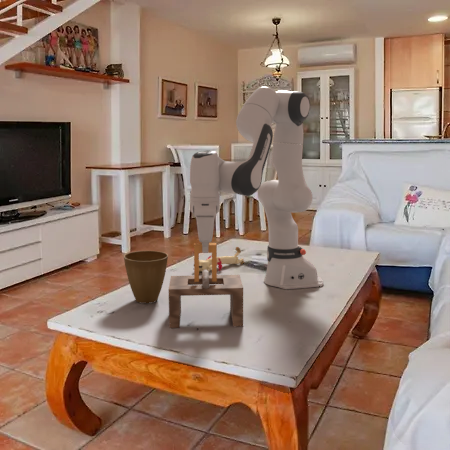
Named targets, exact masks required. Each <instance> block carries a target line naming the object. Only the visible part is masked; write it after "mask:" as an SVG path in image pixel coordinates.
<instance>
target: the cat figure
mask: <svg viewBox="0 0 450 450" xmlns="http://www.w3.org/2000/svg"><path fill="white" fill-rule="evenodd" d="M235 251H236V253H235V254H234V255H231V256H229V255H225V256H224V255H223V256H217V268H218V271H221V270H222V268H223V265H239V264H240V265H244V264H245V261H244V259H245V258H243V257H240V259H239V255H240V254H241V252H242V250H241V248H240V247H239V246H236V247H235ZM243 263H244V264H243ZM204 269H206V270H208V273H210V271H212V254H211V255H210V256H209V257H207V258H206V260H204V259H199V273H201V272H202V271H203V270H204Z"/></svg>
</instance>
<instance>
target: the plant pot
mask: <svg viewBox="0 0 450 450" xmlns="http://www.w3.org/2000/svg"><path fill="white" fill-rule="evenodd" d="M168 259H169V254H168V253H166V252H163V251H158V250H136V251H131V252H127V253H125V254H124V255H123V261H124V266H125V267H124V268H125V272H126V276H127V280H128V284H129V286H130V289H131V292H132V295H133V297H134V299H135V301H136V302H137V303H139V304H152V303H153V304H154V303H155V302H157V301H158V299H159V296H160V293H161V291H162V287H163V285H164V284H163V283H164V281H165V276H166V271H167V265H168Z"/></svg>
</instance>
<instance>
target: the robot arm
mask: <svg viewBox="0 0 450 450" xmlns="http://www.w3.org/2000/svg"><path fill="white" fill-rule="evenodd" d="M310 111H311V102H310V98H309V97H308V95H307V94H306V93H305V92H303V91H300V90H294V91H291V90H277V91H276V90H274V89H273V88H271V87H269V86H259V87H257V88H256V89H255V90H254V91H253V92H252V93H251V94H250V95H249V97H248V98H247V99H246V101H245V102H244V104H243V105H242V107H241V109H240V110H239V113H238V114H237V117H236V121H235V124H236V129H237V131H238V133H239V134H240V136H242V137H243V138H244V139H245V140H246V141H248V142H250V143H253V144H252V147H251V148H250V153H249V154H248V157H247V158H246V159H245V160H243V161H228V160H224V159H222V158H221V157H220V156H219V154H218V152H217V151H214V150H201V151H200V150H199V151H197V152H195V153H194V154H193V155H192V157H191V159H190V165H189V166H190V167H189V183H190V187H191V188H190V189H191V191H190V194H189V199H190V201H189V207H190V208H189V211H190V212H191V213H192V214H193V216H194V217H195V219H196V227H197V228H196V229H197V235H198V241H199V243H202V252H203V253H202V254H209V253H208V246H209V243H212V241H213V235H214V228H215V218H216V216H217V214H218V213H219V212H220V211H221V210H220V209H221V208H220V207H221V206H220V203H221V202H220V201H221V199H220V198H221V197H220V196H221V195H220V193H225V194H236V195H239V196H246V197H250V196H252V195H254V194H255V193H256V192H257V198H258V201H259V202H260V203H261V205H262V206H263V207H262V208H263V210H264V212H265V216H266V219H267V226H268V245H267V250H266V259H267V266H266V272H265V276H264V280H263V282H264V284H265V285H267V286H271V287H276V288H281V289H284V290H293V289H294V290H295V289H306V288H319V286H320V287H322V286H323V285H324V280H323V278H322V277H320V276H319V275H318V271H317V267H316V266H315V264H314V263H312V262H311V261H310V260H308V259H307V258H306V257H305V255H306V253H307V250H305V249H304V248H303V247H301V246H300V245H299V227H298V224H297V223H296V221H295V220H294V218H293V215H292V214H293V213H304V212H306V211H307V210H308V209H309V208H310V207H311V206H312V203H313V193H312V191H311V189H310V188H309V186H308V184H307V182H306V180H305V175H304V171H303V150H304V149H303V147H304V121H306V119H307V118H308V116H309V114H310ZM272 124H275V126H274V131H273V128H272V127H271V125H272ZM271 146H272V147H271ZM271 148H272V152H271V153H272V154H271V165H272V167H273V168H274V169H275V172H276V176H277V179H271V180H267V181H264V182H262V181H263V174H264V169H265V166H266V162H267V159H268V156H269V153H270V150H271Z"/></svg>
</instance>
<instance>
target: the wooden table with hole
mask: <svg viewBox="0 0 450 450" xmlns="http://www.w3.org/2000/svg"><path fill="white" fill-rule="evenodd" d="M201 272H202V273H201V274H202V275H200V274H199V282H194V275H170V279H169V284H168V285H169V286H168V322H169V325H168V326H169V329H180V327H181V319H182V318H181V316H182V299H181V298H182V296H183V297H184V296H222V295H223V296H228V295H229V296H230V297H229V299H230V301H229V303H230V304H229V305H230V317H231V320H232V321H231V322H232V327H235V328H237V327H244V285H243V282H242V279H241V275H240V274H217V282H212V274H210V275H209V273H210V272H208V270H206V269H204V270H203V271H201Z"/></svg>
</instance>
